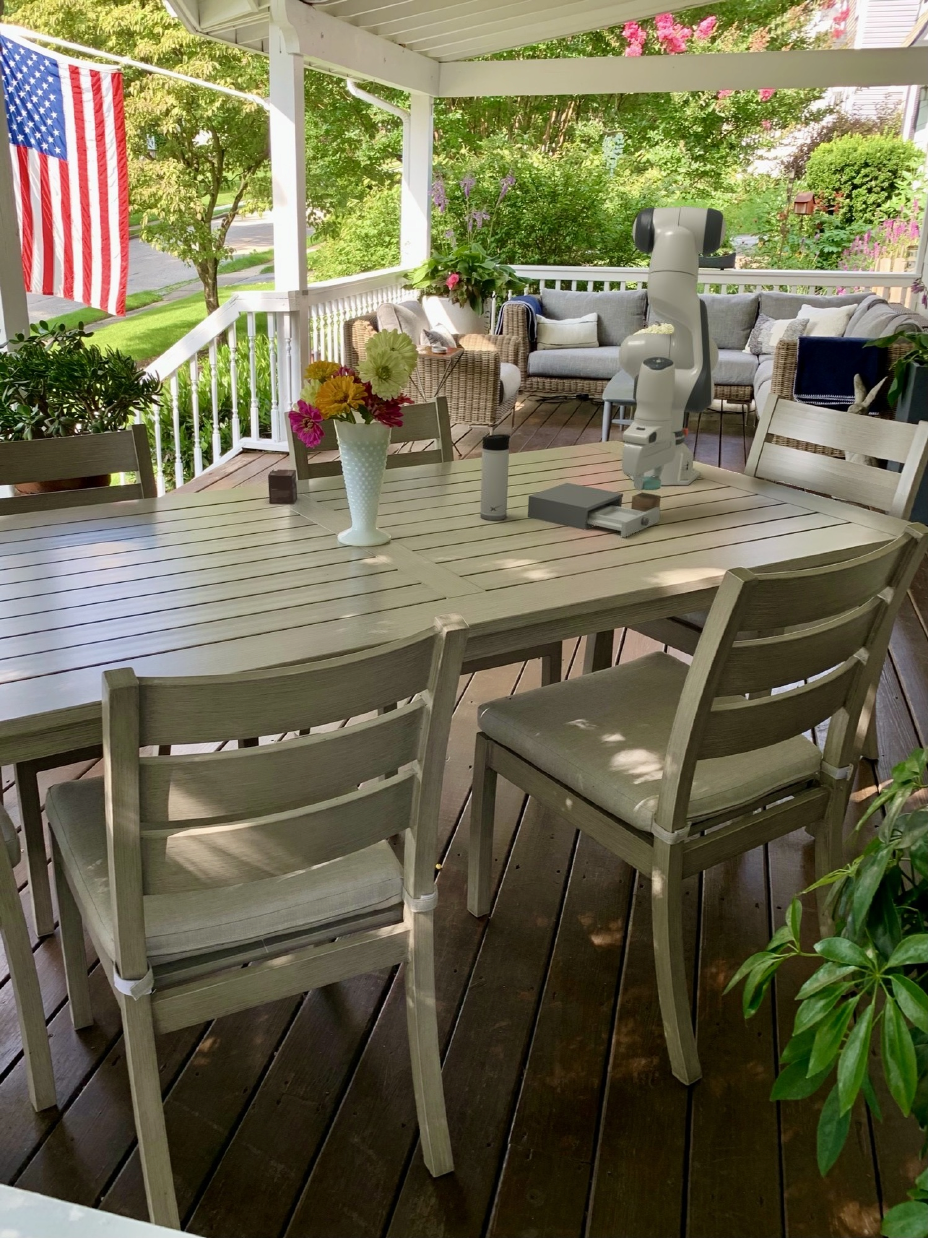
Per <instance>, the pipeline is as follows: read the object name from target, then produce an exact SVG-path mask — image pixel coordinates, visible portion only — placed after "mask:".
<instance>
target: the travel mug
mask: <svg viewBox="0 0 928 1238" xmlns="http://www.w3.org/2000/svg"><path fill="white" fill-rule="evenodd" d="M510 438H511V435H510V434H505V433H504V434H502V433H501V434H491V435H488V436H483V437H482V449H481V450H482V451H481V479H480V482H481V483H480V484H481V485H480V514H479V515H480V518H482V519H483V520H487V521H502V519H503V520H504V519H505V520H506V518H507V515H508V514H507V512H508V511H507V510H508V489H509V487H508V486H509V463H510V462H509V461H510V460H509V459H510Z"/></svg>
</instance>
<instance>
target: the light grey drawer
mask: <svg viewBox="0 0 928 1238" xmlns="http://www.w3.org/2000/svg"><path fill="white" fill-rule="evenodd" d="M660 513H661V506H660V507H655V508H652V509H650V510H648V511H646V512H643V511H639V510H634V509H631V508H628V507H623V506H621V507H619V506H614V505H610V506H606V505H601V506H599V507H596V508H594V509H591V510H589V511H588V517H587V524H592V525H595V526H599V527H602V528H606V529H610V530H615V531H616V530H617V531H619V532H620V537H621V536H622V537H621V538H626V536H627V535H629V536H631V535H633V534H635V532H636V533H637V532H639V530H640V531H641V530H644V529H646V528H648V527H651V526H653V525H655V524H658V523H659V522H660ZM632 533H633V534H632ZM630 534H631V535H630ZM627 537H628V536H627Z"/></svg>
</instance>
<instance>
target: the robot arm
mask: <svg viewBox="0 0 928 1238" xmlns="http://www.w3.org/2000/svg"><path fill="white" fill-rule="evenodd" d="M726 232H727V225H726V221H725V219H724V214H723V212H722V211H721V210H719V209H716V208H710V207H708V208H704V207H703V208H702V207H698V206H696V207H695V206H686V205H684V206H668V207H666V206H665V207H654V206H651V207H646V208H643V209H641V210H640V211H639V212H638V213H637V215H636V218H635V220H634V221H633V227H632V238H633V242H634V247H636V249H637V250H638V251H639V252H641V253H645V254H646V255H650V254H651V257H650V262H649V267H648V275H647V284H646V285H647V288H646V289H647V293H646V294H647V299H648V302H649V303H650V305H651V309H652V311H653V313H654V314H655V315H656V316H657V317H658V318H660V319H661V320H662V321H663V320H664V321H665V322H667V323H668V324H670V325H672V327H673V332H672V333H662V332H661V333H658V332H657V333H656V332H655V333H654V332H653V333H652V332H641V333H636V334H629V335H628V336H626V337H625V338H624V340H622V342H621V345H620V346H619V351H618V360H619V364H620V366H621V368H622V369H623V370H624V372H625V373H627V374H628V376H630V378H632V379H633V382H634V383H633V394H632V399H633V400H634V401H635V403H636V409H635V412H634V414H633V415H634V416H633V417H634V418H633V421H632V422H631V424H630V425H629V426H628V428H627V429H626V430H624V432H623V434H622V441H624V442H625V443H624V445H623V448H622V458H621V469H622V470H621V471H622V473H623V474H624V475H626V476H628V477H630V479H631V480H632V481H633V482H634V481H635V487H634V490H635V491H638V492H642V491H644V490H643V489H644V485H645V483H643V479H642V477H644V476H647V477H655V478H658V479H660V480H661V486H689V485H690V484H691V483H693V482H694V481H695V480H696V479H697V478H699V477H700V476H701V471H700V470H699V469H696V468H693V467H694V454H693V452H692V451H691V450H690V449H689V448H688V446H687V445H686V444H685V437H687V436H688V435H689V428H684V427H683V424H684V413H685V412H686V413H692V414H697V415H698V414H701V413H702V412H704V411H705V410H707V409H708V408H710V407H711V405H712V403H713V401H714V397H715V382H714V377H713V374H712V372H713V371H714V369H715V368H716V367H717V365H718V363H719V362H718V360H719V348H718V346H717V344H716V341H715V340H714V339H713V338H712V337H711V336H710V326H709V315H708V307H707V304H706V302H705V300H703V299H702V298H700V297H699V295H698V292H697V290H698V279H699V265H700V264H699V263H700V262H699V261H700V259H699V256H700V255H702V257H703V259H704V258H707V256H710V255H712V254H715V253H716V252H717V251H718V250H719V249H721V246H722V245H723V242H724V240H725V236H726Z"/></svg>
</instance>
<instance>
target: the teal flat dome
mask: <svg viewBox="0 0 928 1238" xmlns="http://www.w3.org/2000/svg"><path fill="white" fill-rule="evenodd" d="M642 479H643V483H645V485H644V489H643V490H642V491H657V490H660V489H661V488H662V487H661V486H662V485H661V480H660V479H658V478H655V477H647V476H644V477H642ZM633 487H634V488H635V481H634V480H633Z"/></svg>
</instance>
